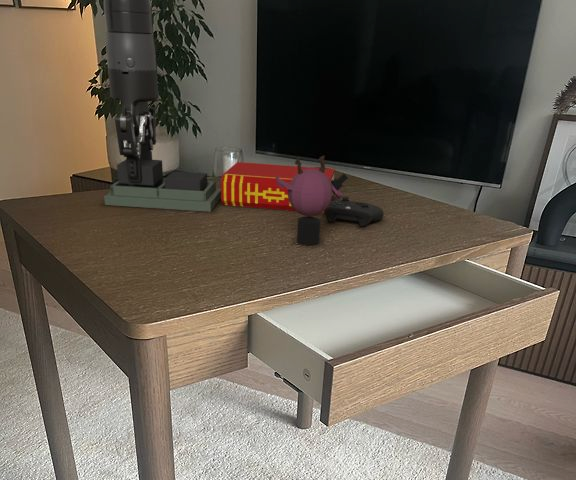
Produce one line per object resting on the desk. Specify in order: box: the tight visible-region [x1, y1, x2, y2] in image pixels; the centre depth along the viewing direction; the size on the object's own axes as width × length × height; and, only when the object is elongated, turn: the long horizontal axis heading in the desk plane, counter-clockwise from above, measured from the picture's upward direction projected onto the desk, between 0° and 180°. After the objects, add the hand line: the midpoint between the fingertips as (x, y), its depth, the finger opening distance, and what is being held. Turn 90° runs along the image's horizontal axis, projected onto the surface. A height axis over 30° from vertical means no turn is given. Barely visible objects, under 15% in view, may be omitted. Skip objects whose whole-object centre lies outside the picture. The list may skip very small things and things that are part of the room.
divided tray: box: [103, 177, 221, 213], centre depth 104 cm, size 18×10×3 cm, turn 85°
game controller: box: [325, 196, 385, 228], centre depth 98 cm, size 10×5×6 cm
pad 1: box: [116, 159, 164, 186], centre depth 102 cm, size 6×6×3 cm
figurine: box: [275, 155, 349, 246], centre depth 84 cm, size 8×8×12 cm
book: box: [220, 161, 336, 214], centre depth 106 cm, size 18×13×5 cm
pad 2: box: [164, 171, 208, 191], centre depth 103 cm, size 6×6×3 cm
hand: (140, 176), depth 103 cm, fingers closed on pad 1, 6 cm apart
